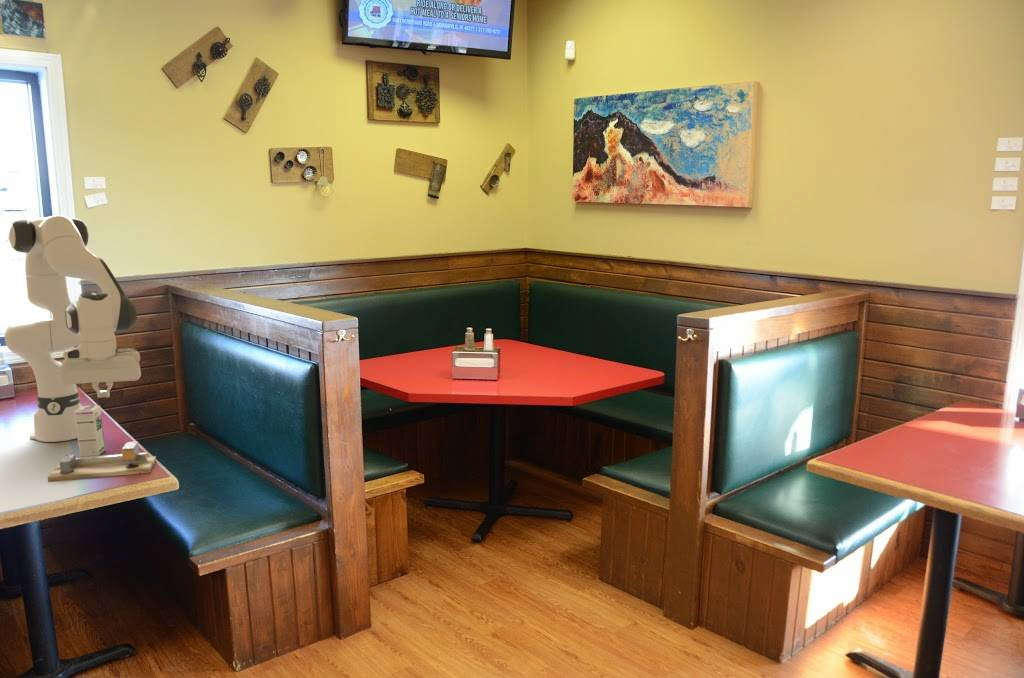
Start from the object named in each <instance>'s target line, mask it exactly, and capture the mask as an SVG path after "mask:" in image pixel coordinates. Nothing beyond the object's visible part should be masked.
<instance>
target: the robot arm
mask: <svg viewBox="0 0 1024 678" xmlns="http://www.w3.org/2000/svg"><path fill="white" fill-rule="evenodd" d="M7 238H8V241H9V243H10V246H11V248H12V249H14V250H15V251H16V252H18V253H24V254H25V259H24V260H25V281H26V291H27V298H28V301H29V302H30V303H31V304H33V305H34V306H36V307H38V308H40V309H43V310H47V311H48V312H50V313H51V315H52V317H51V318H45V319H44V318H43V319H41V318H40V319H28V320H22V321H17V322H13V323H11V324H10V325H9V326H8V327H7V328H6V330H5V333H4V343H5V345H6V347H7V349H9V351H10V352H12V353H13V354H15V355H16V356H19V357H20V358H21V359H23V360H24V361H25V362H26V363H27V364H28V365H29V366H30V368H31V369H32V371H33V374H34V377H35V381H36V386H37V387H36V388H37V396H36V403H37V407H38V409H37V410H36V411H35V412H34V413H33V426H34V427H33V428H34V430H33V431H34V432H33V433H32V434H30V435H29V439H30V440H36V441H39V442H44V443H45V442H47V443H55V442H65V441H70V440H71V441H72V440H75V439H78V438H77V429H76V421H75V413H74V412H75V411H76V410H78V409H79V408H81V407H83V406H84V405H82V404H81V400H80V389H77V384H78V385H79V384H91V387H92V389H93V390H94V391H95V392H96V395H97V398H98V399H100V398H101V399H102V398H110V397H111V395H110V394H111V393H110V390H111V389H112V387H113V385H114V382H115V383H116V382H134V381H138V380H139V379H141V378H140V377H141V376H142V372H141V371H142V370H141V365H140V361H141V354H140V352H139V351H138V350H137V349H134V348H135V347H134V348H133V347H129V348H117V347H118V346H117V339H116V334H115V333H117V332H118V333H119V332H122V333H123V332H128V331H129V330H130V329H132V328H133V326H134V325H135V324H136V323H137V320H138V314H137V308H136V306H135V305H134V303H133V302H132V300H131V299H130V298H129V297H128V296H127V295H126V293H125V292H124V290H123V289H122V287H121V285H120V284H119V282H118V280H117V279H116V277H115V276H114V274H113V273H112V271H111V269H110V268H109V266H108V264H107V263H106V262H105V261H104V259H102V258H100V257H98V256H97V255H95V254H93V253H92V251H90V250H89V249H88V248H87V245H88V242H89V231H88V226H87V223H85V222H84V220H83V219H80V218H76V217H69V218H68V217H67V216H65V215H59V214H58V215H51V216H46V217H32V218H26V217H23V218H22V217H21V218H17V219H14V220H12V221H11V223H10V224H9V227H8V230H7ZM67 278H75V279H81V280H85V281H89V282H92V283H94V284H96V285H97V286H98V287H99V288H100V290H101V291H98V290H88V291H85V292H82V293H80V294H79V295H78V298H77V301H75V302H74V301H73V302H72V301H71V299H70V295H69V291H68V287H67V286H68V285H67ZM54 353H62V355H63V358H64V360H63V361H59V360H56V359H54V358H53V357H52V354H54ZM100 383H105V386H107V388H106V390H105V389H104V390H103V389H102V390H101V389H100V387H99V385H100Z"/></svg>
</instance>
